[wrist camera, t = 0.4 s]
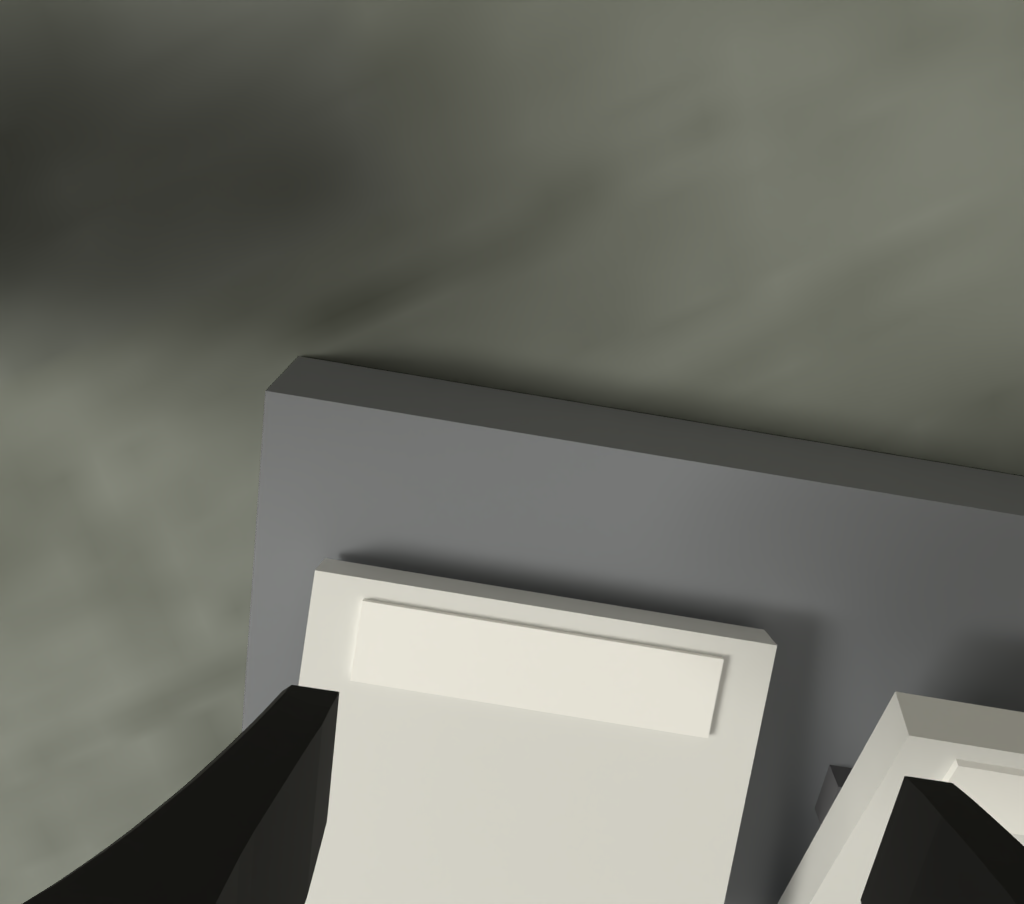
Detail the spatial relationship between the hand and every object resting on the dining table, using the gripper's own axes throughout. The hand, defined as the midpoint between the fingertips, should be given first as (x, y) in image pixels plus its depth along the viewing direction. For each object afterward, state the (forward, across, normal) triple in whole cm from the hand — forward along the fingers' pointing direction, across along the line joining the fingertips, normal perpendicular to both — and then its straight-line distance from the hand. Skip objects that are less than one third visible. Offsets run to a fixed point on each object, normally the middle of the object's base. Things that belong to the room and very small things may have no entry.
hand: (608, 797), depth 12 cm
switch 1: (+6, +1, +5) cm, 8 cm away
